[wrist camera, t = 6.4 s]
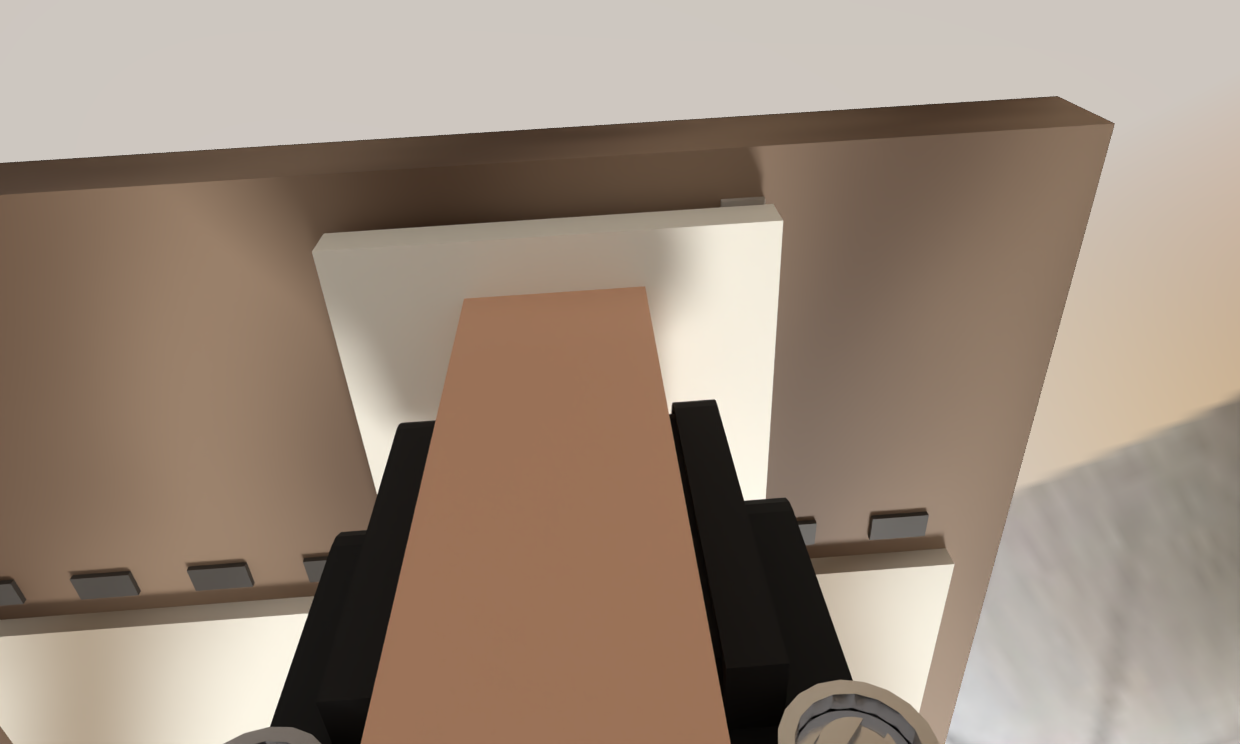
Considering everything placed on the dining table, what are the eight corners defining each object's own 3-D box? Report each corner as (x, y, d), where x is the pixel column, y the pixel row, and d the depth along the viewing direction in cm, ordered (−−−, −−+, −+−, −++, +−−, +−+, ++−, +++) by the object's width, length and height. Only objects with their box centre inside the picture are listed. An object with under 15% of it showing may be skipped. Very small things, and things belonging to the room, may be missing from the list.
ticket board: (1057, 96, 12) (1131, 131, 11) (918, 691, 20) (950, 765, 18) (-310, 182, 12) (-449, 233, 10) (79, 758, 19) (34, 840, 18)
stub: (772, 204, 11) (1068, 693, 5) (754, 534, 14) (912, 1095, 8) (323, 233, 11) (-32, 781, 4) (408, 560, 14) (274, 1154, 8)
